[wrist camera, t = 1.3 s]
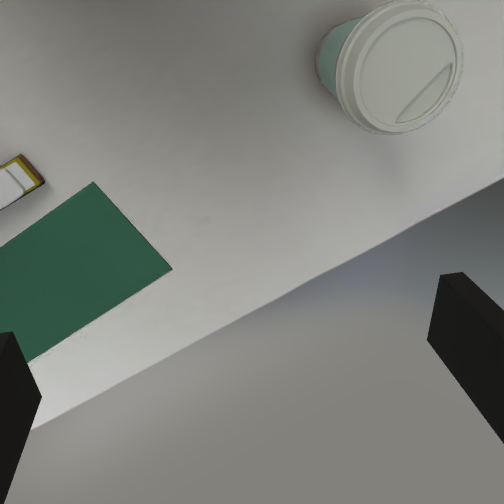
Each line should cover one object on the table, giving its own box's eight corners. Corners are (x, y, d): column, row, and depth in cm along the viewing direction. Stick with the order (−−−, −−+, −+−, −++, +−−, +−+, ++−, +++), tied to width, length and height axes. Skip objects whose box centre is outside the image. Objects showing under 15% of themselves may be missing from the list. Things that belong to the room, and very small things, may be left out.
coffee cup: (310, 120, 40) (355, 156, 30) (290, 21, 36) (334, 23, 25) (397, 92, 40) (472, 119, 30) (387, -11, 36) (471, -21, 25)
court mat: (-67, 295, 43) (-68, 296, 43) (93, 181, 40) (93, 182, 40) (25, 363, 49) (25, 364, 49) (172, 268, 46) (172, 269, 46)
